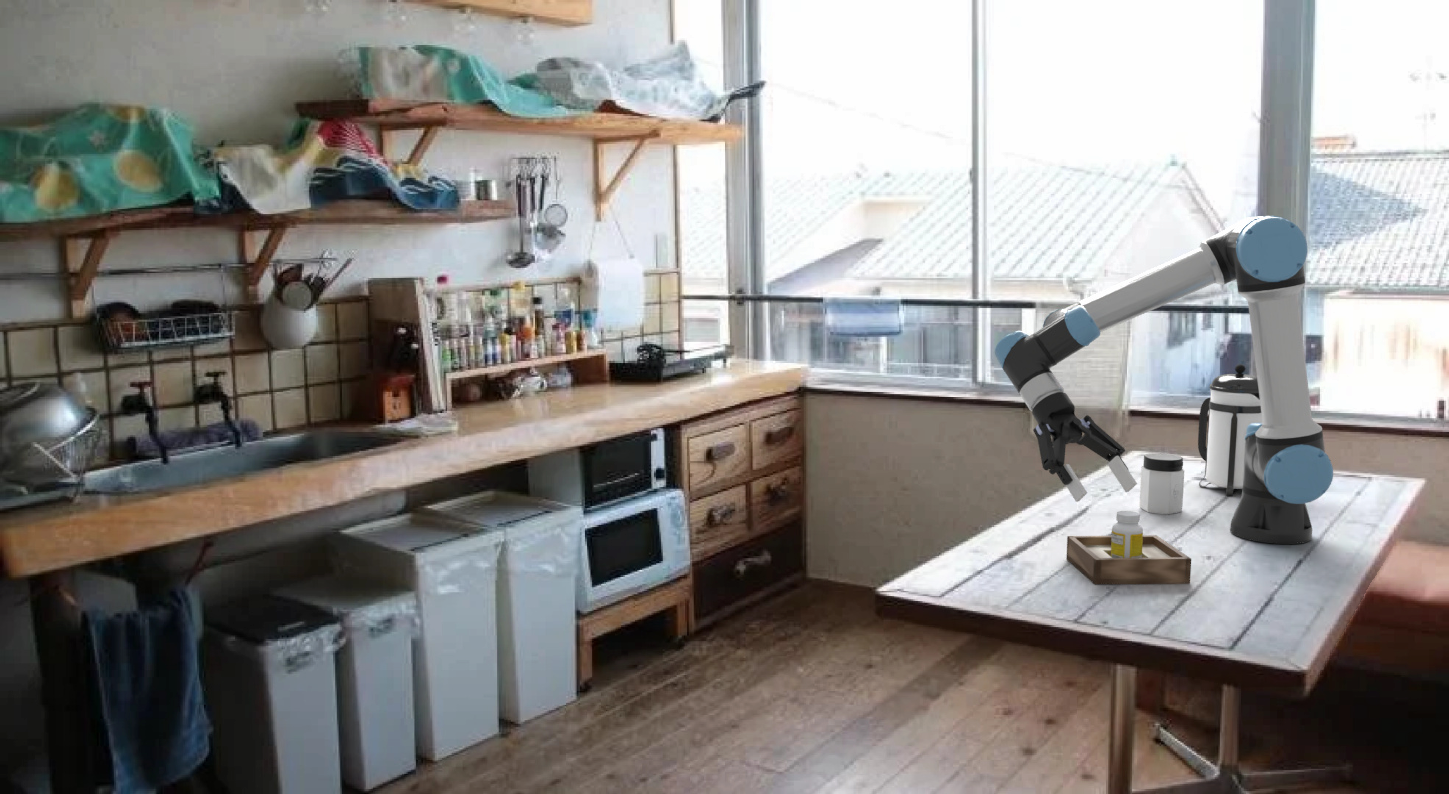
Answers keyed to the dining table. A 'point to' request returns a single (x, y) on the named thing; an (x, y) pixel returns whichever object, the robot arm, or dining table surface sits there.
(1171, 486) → the jar
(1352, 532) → the dining table surface
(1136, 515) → the supplement bottle
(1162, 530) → the dining table surface
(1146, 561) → the socket box
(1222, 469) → the coffee press
